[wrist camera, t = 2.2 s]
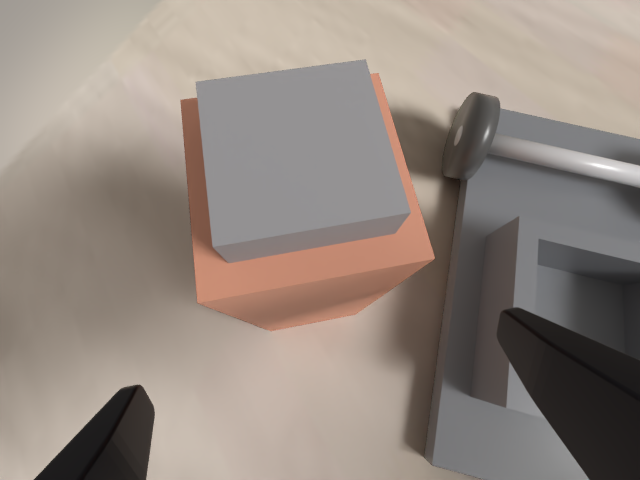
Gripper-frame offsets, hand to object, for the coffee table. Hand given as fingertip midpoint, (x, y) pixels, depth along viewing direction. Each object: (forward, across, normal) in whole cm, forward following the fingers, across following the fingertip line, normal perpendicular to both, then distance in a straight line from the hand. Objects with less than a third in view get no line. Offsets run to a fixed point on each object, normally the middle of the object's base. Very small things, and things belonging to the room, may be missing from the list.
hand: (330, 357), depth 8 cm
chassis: (+9, -14, +7) cm, 18 cm away
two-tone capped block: (+11, 0, +5) cm, 12 cm away
